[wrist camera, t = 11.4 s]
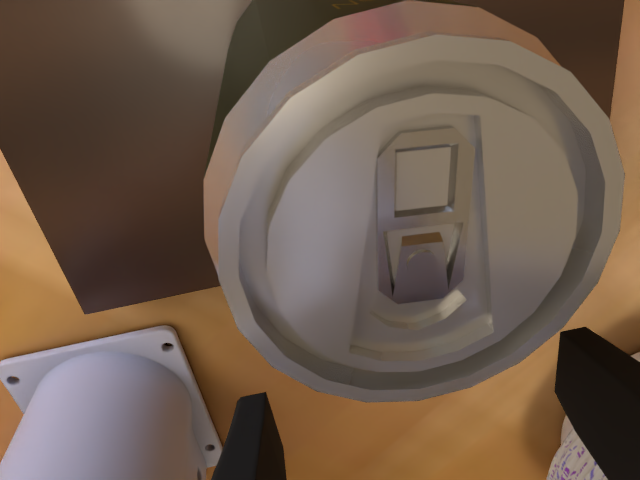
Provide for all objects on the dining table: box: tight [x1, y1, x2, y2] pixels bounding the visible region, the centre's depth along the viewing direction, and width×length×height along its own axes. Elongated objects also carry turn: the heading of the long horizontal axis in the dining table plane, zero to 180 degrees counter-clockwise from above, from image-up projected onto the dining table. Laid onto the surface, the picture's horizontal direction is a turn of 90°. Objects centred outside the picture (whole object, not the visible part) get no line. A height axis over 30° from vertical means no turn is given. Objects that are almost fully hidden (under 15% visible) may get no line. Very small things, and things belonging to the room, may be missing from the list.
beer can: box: [203, 0, 625, 402], centre depth 11 cm, size 5×5×12 cm
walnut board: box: [0, 0, 624, 314], centre depth 17 cm, size 15×21×2 cm
